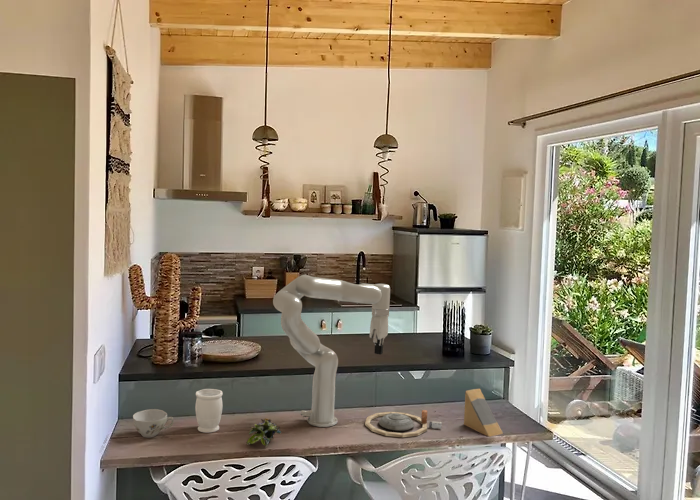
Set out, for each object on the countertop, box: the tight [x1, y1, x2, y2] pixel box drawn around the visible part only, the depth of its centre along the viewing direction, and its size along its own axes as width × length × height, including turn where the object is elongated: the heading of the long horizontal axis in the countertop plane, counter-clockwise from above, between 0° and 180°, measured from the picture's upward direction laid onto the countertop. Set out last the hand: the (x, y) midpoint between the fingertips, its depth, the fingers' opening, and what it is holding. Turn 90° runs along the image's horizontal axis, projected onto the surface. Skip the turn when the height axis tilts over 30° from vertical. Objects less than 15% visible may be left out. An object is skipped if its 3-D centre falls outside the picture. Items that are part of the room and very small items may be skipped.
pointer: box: [428, 420, 443, 430], centre depth 252 cm, size 5×2×2 cm, turn 86°
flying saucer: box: [378, 413, 415, 432], centre depth 253 cm, size 15×15×6 cm
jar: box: [194, 388, 223, 434], centre depth 240 cm, size 11×10×15 cm
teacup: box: [132, 408, 174, 438], centre depth 233 cm, size 15×12×8 cm
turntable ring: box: [364, 409, 428, 438], centre depth 253 cm, size 26×26×6 cm
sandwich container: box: [463, 388, 504, 437], centre depth 253 cm, size 9×15×15 cm, turn 32°
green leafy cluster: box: [246, 418, 282, 449], centre depth 228 cm, size 11×11×12 cm
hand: (378, 353), depth 264 cm, fingers closed
